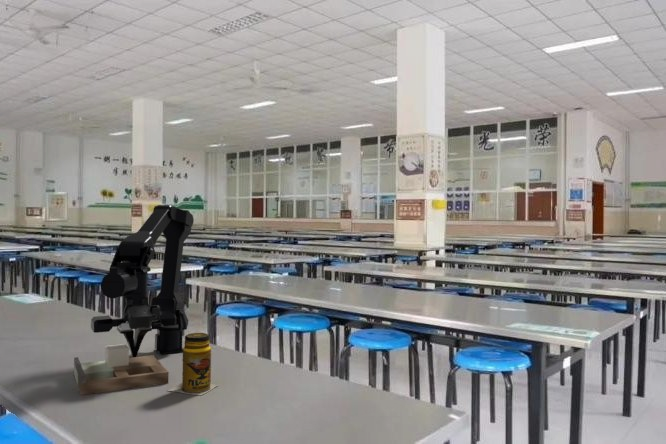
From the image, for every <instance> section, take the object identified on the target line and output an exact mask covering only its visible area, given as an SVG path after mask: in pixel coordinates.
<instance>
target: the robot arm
mask: <svg viewBox="0 0 666 444" xmlns="http://www.w3.org/2000/svg"><path fill="white" fill-rule="evenodd" d="M194 219H195V218H194V215H193V214H192V213H191V212H190V211H189V210H188V209H181V208H178V207H176V206H173V205H171V204H169V205H168V204H165V205H164V204H158V205H155V206H154V207H153V211H152V213H151V214H150V215H149V216H148V218H147V219H146V221H145V222H144V223H143V224H142V226H141V227H140V228H139V229H138V230H137V232H135V233H132V234H130V235H127V236H126V237H124V239H122V240H121V241H120V243H119V244H118V246H117V248H116V250H115V253H114V256H113V257H112V258H113V259H112V260H111V264H110V267H109V268H108V269H109V272H108V273H107V274H105V275H104V276H103V278H102V280H101V282H100V290H101V293H103V295H104V296H105V297H107V298H108V299H112V300H113V299H118V298H120V297H121V317H119V318H112V317H111V316H110V315H99V316H93V317H92V318H91V320H90V329H91V331H92V332H93V333H95V334H96V333H97V334H98V333H107V332H110V331H111V330H112V329H113V328H116V331H118V333H119V334H121V335H122V334H123V336H124V338H125V340H126V343H127V347H128V348H129V352H130V354H131V358H132V357H138V354H139V351H140V348H141V346H142V343H143V340H144V338H145V336H146V334H147V333H148V332H152V331H153V330H156V333H155V335H154V350H155V351H156V352H157V353H158V354H159V355H166V354H174V353H176V354H177V353H183V348H184V347H183V331H184V330H185V331H186V330H187V329H188V325H189V318H188V316H187V314H186V313H185V310H184V302H183V300H182V298H181V296H180V294H179V290H180V289H179V288H180V281H181V273H182V271H181V269H182V261H183V253H184V252H183V251H184V243H185V241H186V239H187V238H188V237H189V236H190V234H191V232H192V227H193V225H194V222H195V221H194ZM162 234H163V236H164V238H165V245H164V255H163V265H162V271H161V273H162V274H161V280H160V282H161V284H160V290H159V293H158V294H157V295H156V296H153V298H152V299H151V305H149V297H148V280H149V279H148V275H149V272H151V267H150V266H149V264H150V263H151V261H152V259H153V257H154V255H155V252H156V251H155V247H154V245H155V244H156V242H157V241H158V239H159V238H160V237H161V235H162Z"/></svg>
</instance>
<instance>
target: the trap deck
mask: <svg viewBox="0 0 666 444" xmlns="http://www.w3.org/2000/svg"><path fill="white" fill-rule="evenodd" d="M80 361H81V360H80V359H79V357H73V376H74V378H75V381H76V385H77V387H78V390H79V394H80V395H81V396H85V395H91V394H99V393H107V392H115V391H121V390H128V389H136V388H143V387H148V386H149V387H150V386H155V385H163V384H164V385H165V384H169V371H168V370H167V368H166V367H164V365H163V364H162V363H161V362H160V361H159V359H157V358H156V357H155V356H154V354H151V355H143V356H136V357H132V356H131V357H129V365H124V366H116V367H107V365H106V364H105V360H99V361H98V360H97V361H90V362H89V361H88V362H80Z"/></svg>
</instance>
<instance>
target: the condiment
mask: <svg viewBox="0 0 666 444" xmlns="http://www.w3.org/2000/svg"><path fill="white" fill-rule="evenodd" d="M182 348H183V352H182V374H181V375H182V382H181V383H179V384H178V385H175V386H173V387H171V388H170V389H168V390H167V392H169V391H170V392H176V393H182V394H188V395H193V396H194V395H196V396H203V395H204V394H207V393H208V392H210V391H211V390H213V389H215V387H217V386H218V384H215V383H211V382H212V373H211V372H212V347H211V345H210V334H208V333H205V332H192V333H188V334H186V335H185V336H184V347H182Z"/></svg>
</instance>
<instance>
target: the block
mask: <svg viewBox="0 0 666 444" xmlns="http://www.w3.org/2000/svg"><path fill="white" fill-rule="evenodd" d="M129 356H130V349H129V346H128V344H126V343H122V344H121V343H120V344H111V345H105V346H104V361H105V364H106V365H107V367H116V366H124V365H129V358H130V357H129Z"/></svg>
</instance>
